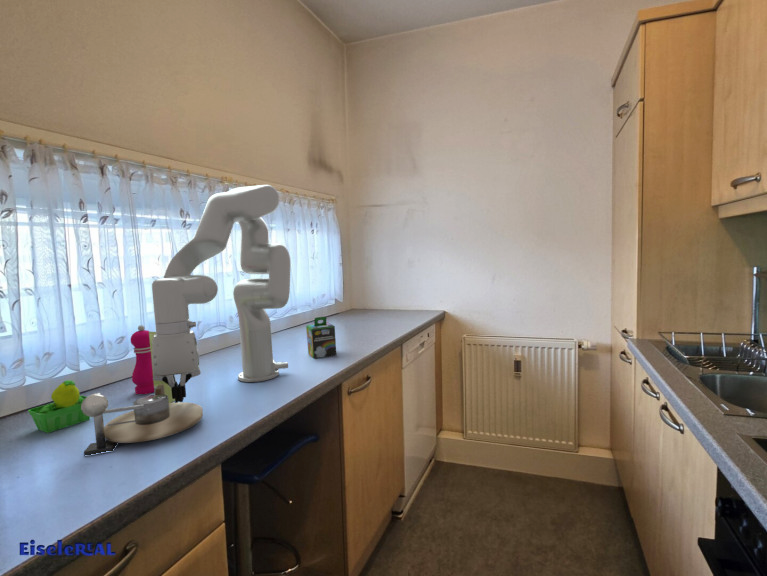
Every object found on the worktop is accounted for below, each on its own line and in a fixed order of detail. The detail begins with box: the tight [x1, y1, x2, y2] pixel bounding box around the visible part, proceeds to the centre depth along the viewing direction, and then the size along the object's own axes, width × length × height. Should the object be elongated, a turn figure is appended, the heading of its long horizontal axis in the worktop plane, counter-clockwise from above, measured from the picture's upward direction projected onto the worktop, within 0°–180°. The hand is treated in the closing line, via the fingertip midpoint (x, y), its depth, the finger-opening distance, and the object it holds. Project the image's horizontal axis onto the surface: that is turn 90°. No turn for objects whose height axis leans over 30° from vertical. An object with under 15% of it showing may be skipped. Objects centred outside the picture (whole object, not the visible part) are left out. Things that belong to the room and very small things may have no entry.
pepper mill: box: [130, 324, 154, 395], centre depth 125 cm, size 7×7×20 cm
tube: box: [149, 331, 175, 403], centre depth 115 cm, size 6×5×20 cm
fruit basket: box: [27, 379, 91, 434], centre depth 102 cm, size 11×9×11 cm
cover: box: [132, 394, 170, 425], centre depth 97 cm, size 7×7×5 cm
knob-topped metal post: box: [81, 392, 144, 457], centre depth 88 cm, size 11×4×12 cm, turn 109°
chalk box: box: [305, 316, 337, 360], centre depth 161 cm, size 9×9×15 cm
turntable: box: [104, 384, 204, 444], centre depth 97 cm, size 20×20×6 cm
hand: (179, 400), depth 105 cm, fingers closed
